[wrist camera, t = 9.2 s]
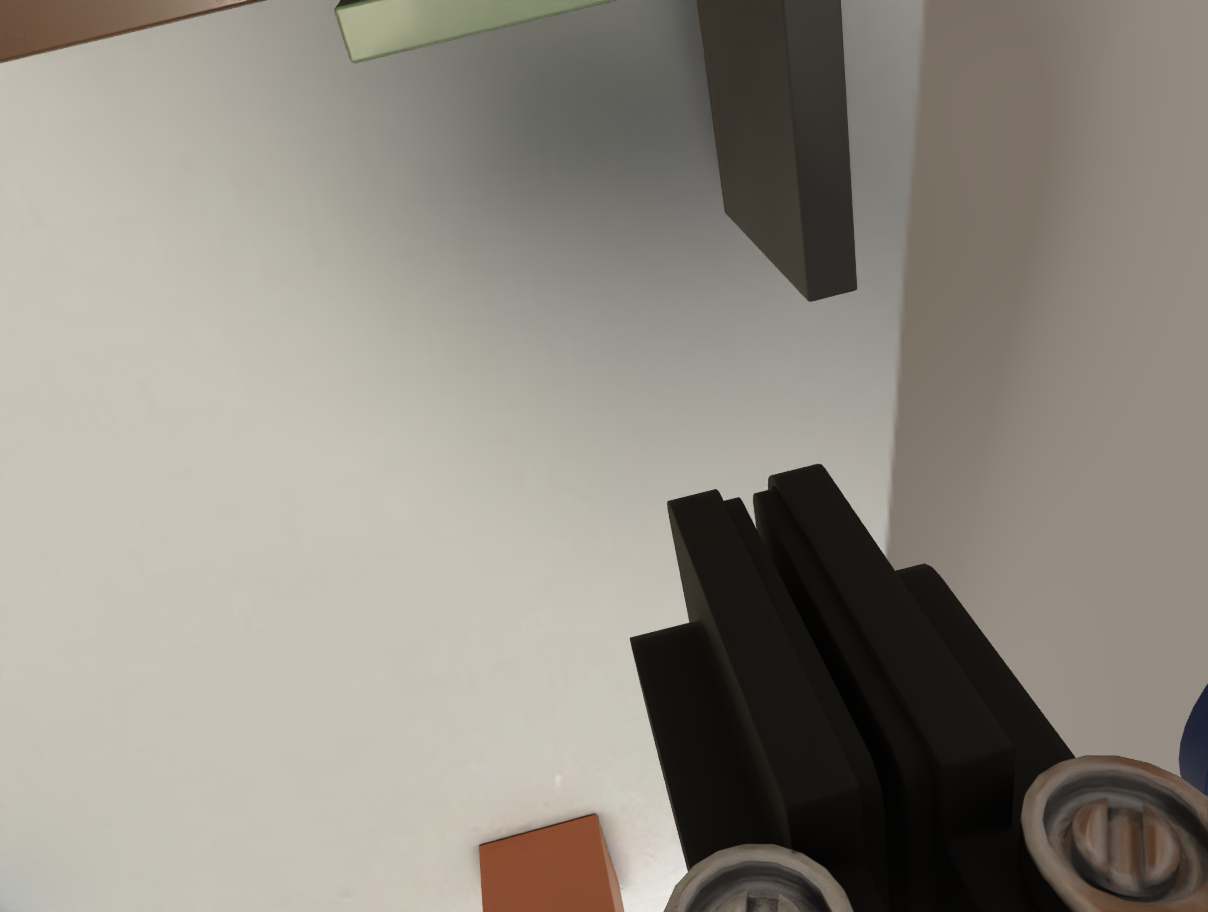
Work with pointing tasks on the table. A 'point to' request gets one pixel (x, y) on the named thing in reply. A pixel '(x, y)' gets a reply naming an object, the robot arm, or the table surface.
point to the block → (551, 871)
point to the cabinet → (89, 21)
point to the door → (714, 111)
